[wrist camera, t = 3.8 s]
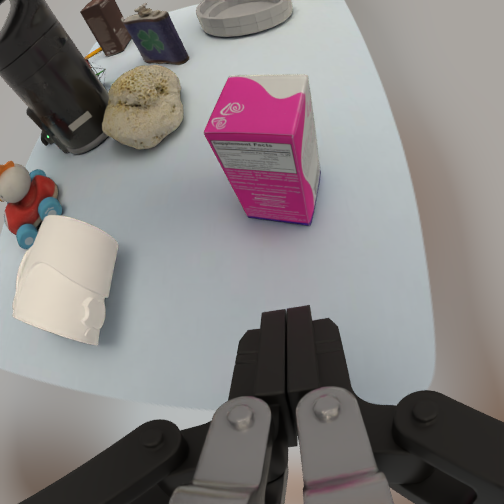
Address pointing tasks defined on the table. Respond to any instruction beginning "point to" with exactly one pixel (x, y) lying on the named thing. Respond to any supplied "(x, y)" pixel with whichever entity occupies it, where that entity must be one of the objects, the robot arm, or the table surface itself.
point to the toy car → (27, 200)
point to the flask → (156, 36)
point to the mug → (66, 279)
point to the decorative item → (143, 107)
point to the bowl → (241, 16)
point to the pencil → (93, 53)
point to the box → (107, 25)
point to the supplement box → (268, 145)
